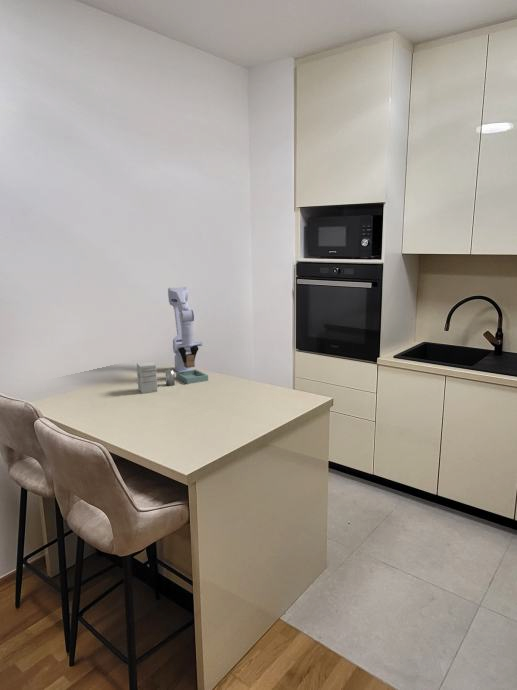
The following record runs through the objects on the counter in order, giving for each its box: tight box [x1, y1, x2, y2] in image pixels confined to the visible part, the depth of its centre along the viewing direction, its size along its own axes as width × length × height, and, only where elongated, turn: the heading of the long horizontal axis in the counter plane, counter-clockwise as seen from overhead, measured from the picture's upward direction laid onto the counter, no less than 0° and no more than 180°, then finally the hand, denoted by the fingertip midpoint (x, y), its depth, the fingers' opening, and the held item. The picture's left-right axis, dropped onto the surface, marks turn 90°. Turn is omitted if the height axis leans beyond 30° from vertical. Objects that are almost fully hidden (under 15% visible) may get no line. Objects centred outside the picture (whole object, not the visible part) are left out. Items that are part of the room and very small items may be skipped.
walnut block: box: [184, 354, 196, 368], centre depth 234 cm, size 4×4×6 cm
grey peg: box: [164, 368, 176, 387], centre depth 224 cm, size 4×4×7 cm
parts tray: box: [175, 369, 209, 385], centre depth 233 cm, size 14×11×3 cm
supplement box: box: [136, 361, 158, 394], centre depth 215 cm, size 7×7×13 cm
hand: (188, 361), depth 235 cm, fingers closed on walnut block, 4 cm apart
